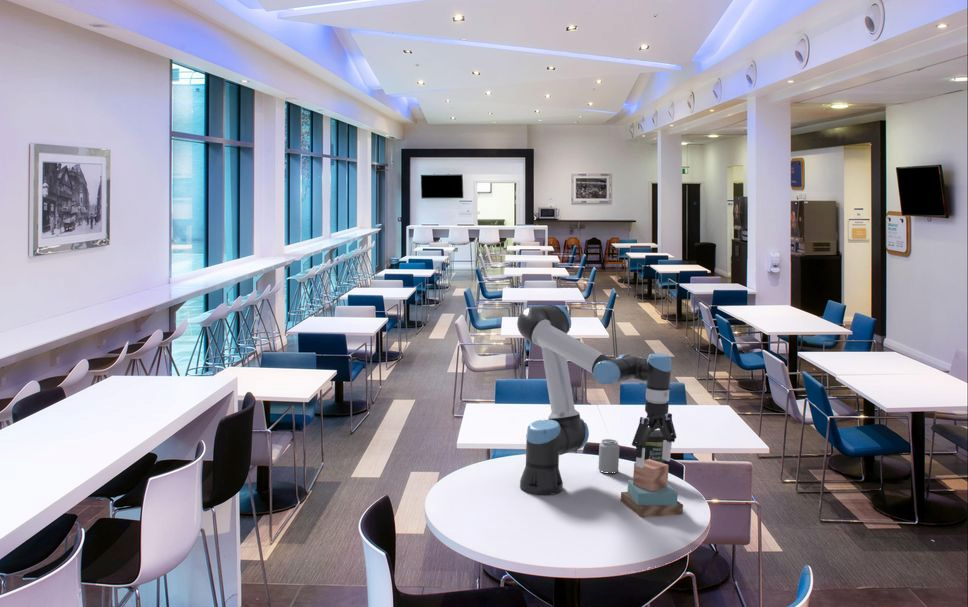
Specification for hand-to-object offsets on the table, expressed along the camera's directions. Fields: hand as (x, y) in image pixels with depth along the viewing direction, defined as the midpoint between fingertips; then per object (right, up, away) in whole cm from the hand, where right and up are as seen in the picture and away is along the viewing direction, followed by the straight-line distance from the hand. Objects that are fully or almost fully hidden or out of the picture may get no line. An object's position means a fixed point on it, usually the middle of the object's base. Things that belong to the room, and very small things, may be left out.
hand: (653, 463), depth 261 cm
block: (-1, -8, +1) cm, 8 cm away
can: (-9, -11, +38) cm, 41 cm away
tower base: (-1, -16, +1) cm, 16 cm away
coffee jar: (+6, -12, +31) cm, 34 cm away
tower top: (0, -12, 0) cm, 12 cm away
